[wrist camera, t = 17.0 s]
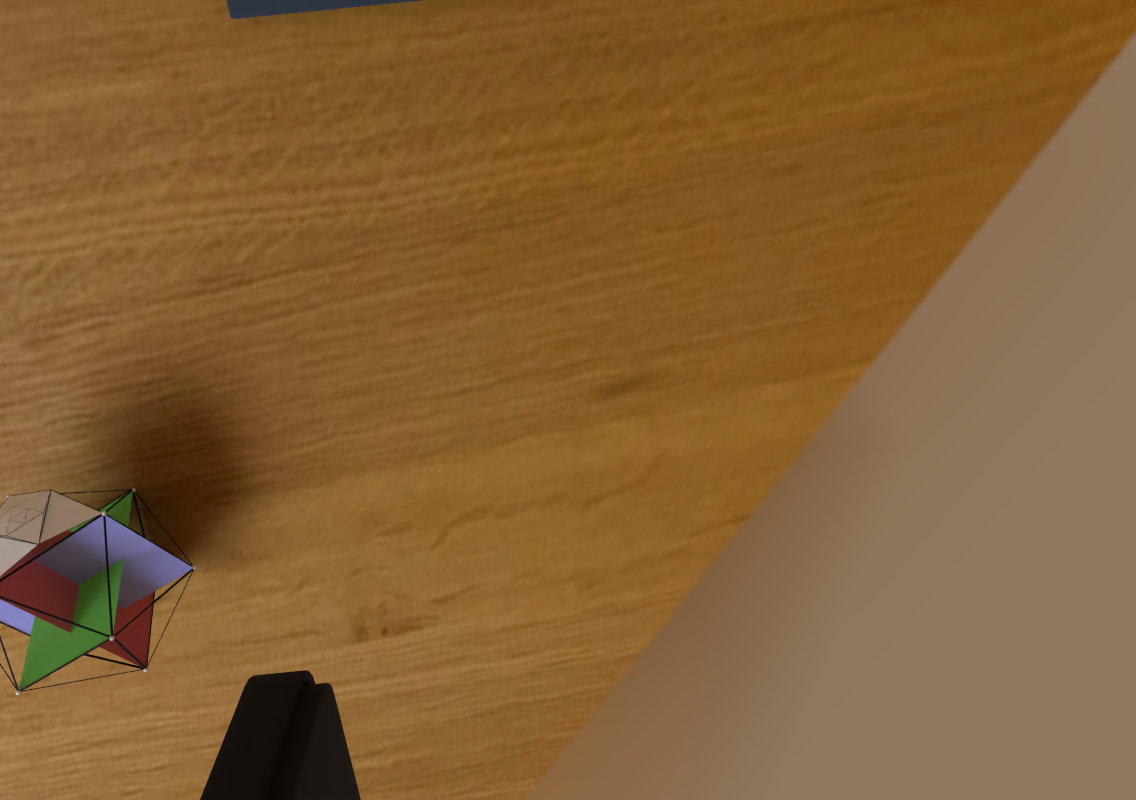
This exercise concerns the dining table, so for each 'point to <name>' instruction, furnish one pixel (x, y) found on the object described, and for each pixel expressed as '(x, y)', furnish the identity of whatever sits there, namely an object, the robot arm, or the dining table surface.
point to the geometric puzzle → (79, 580)
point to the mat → (294, 6)
